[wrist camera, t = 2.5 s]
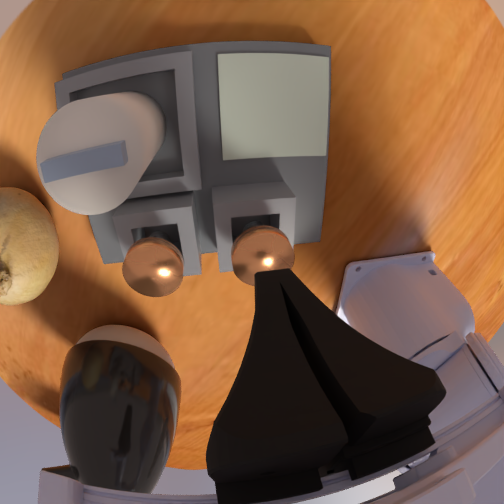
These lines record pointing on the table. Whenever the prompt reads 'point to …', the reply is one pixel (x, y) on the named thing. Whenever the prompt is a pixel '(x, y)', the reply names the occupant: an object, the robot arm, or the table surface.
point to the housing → (220, 144)
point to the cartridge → (99, 149)
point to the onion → (25, 246)
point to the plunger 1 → (153, 265)
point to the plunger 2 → (260, 251)
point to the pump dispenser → (118, 409)
